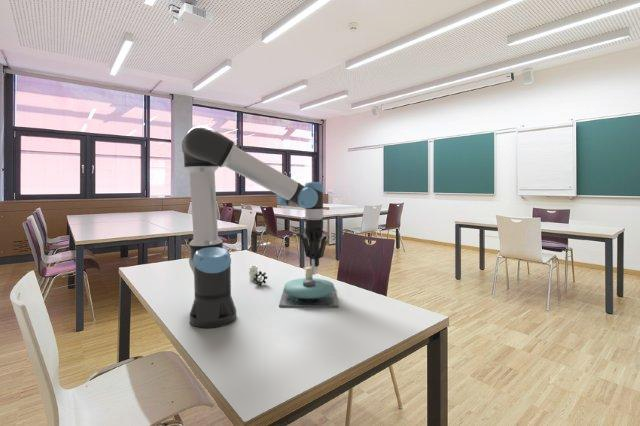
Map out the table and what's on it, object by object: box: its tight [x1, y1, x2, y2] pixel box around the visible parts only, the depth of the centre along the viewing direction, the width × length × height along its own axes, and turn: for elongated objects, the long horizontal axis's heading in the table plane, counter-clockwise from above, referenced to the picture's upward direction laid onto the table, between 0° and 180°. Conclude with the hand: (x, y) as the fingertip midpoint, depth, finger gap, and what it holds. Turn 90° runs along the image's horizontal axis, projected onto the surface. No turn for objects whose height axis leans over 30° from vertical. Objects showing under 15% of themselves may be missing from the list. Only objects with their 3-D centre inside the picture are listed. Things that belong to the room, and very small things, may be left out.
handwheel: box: [283, 266, 335, 299], centre depth 135 cm, size 20×20×7 cm
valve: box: [248, 265, 269, 287], centre depth 155 cm, size 7×7×12 cm
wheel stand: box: [278, 286, 339, 308], centre depth 135 cm, size 22×22×3 cm
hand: (314, 273), depth 142 cm, fingers closed
